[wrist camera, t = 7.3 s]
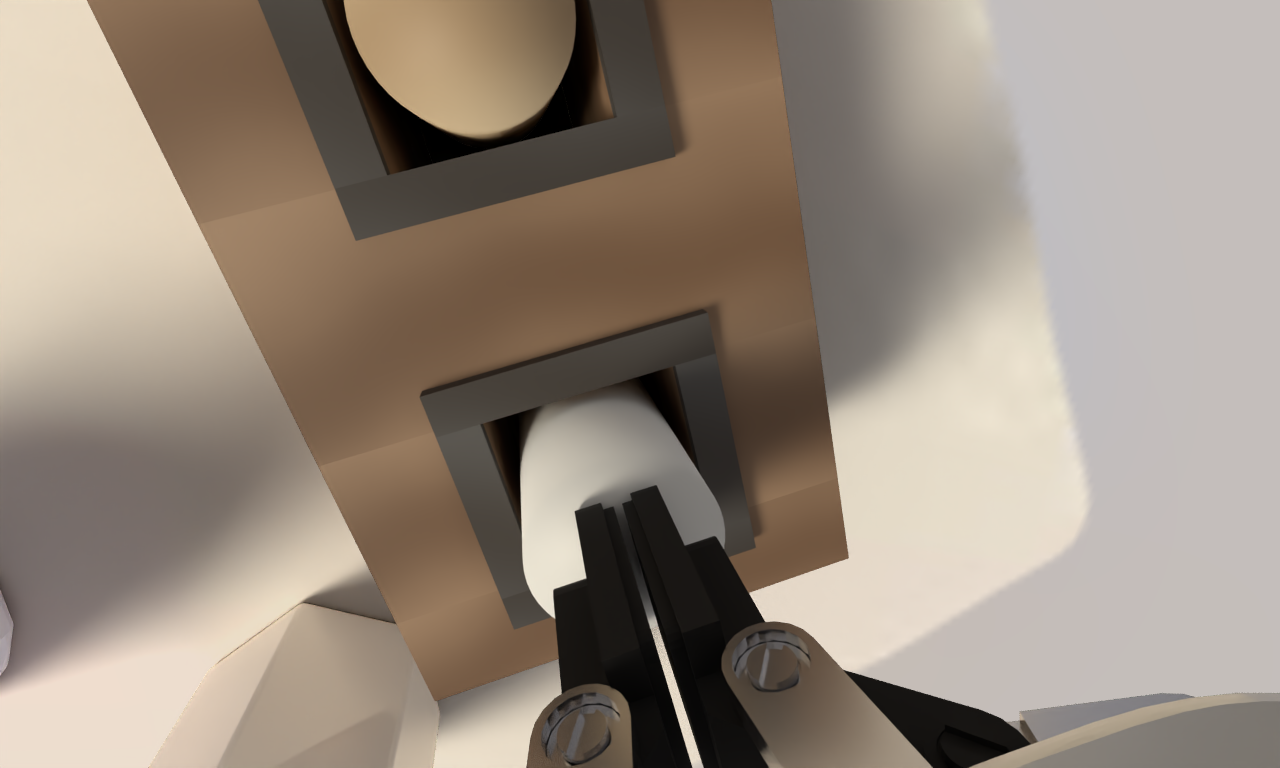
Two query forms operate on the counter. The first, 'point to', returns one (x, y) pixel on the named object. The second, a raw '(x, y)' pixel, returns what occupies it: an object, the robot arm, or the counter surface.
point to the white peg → (601, 481)
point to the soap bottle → (5, 634)
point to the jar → (310, 700)
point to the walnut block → (505, 285)
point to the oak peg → (468, 61)
